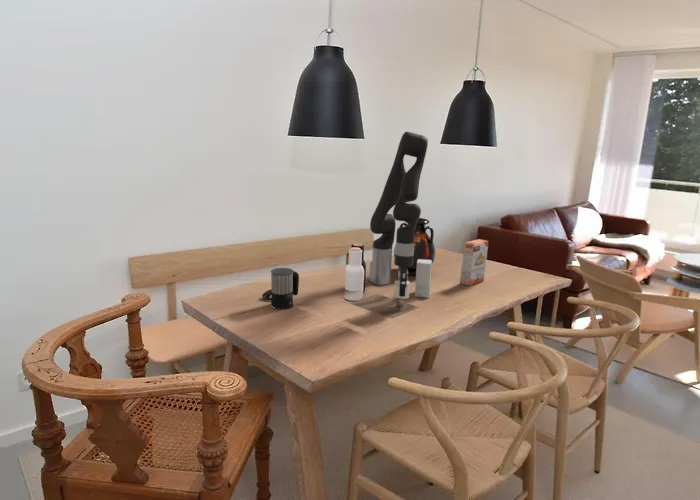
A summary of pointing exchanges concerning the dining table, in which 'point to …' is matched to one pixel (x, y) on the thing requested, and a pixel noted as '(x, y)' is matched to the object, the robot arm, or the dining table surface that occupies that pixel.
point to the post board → (385, 305)
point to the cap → (397, 289)
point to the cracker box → (474, 262)
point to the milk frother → (282, 288)
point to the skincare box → (423, 278)
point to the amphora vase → (421, 244)
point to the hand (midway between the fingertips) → (401, 293)
